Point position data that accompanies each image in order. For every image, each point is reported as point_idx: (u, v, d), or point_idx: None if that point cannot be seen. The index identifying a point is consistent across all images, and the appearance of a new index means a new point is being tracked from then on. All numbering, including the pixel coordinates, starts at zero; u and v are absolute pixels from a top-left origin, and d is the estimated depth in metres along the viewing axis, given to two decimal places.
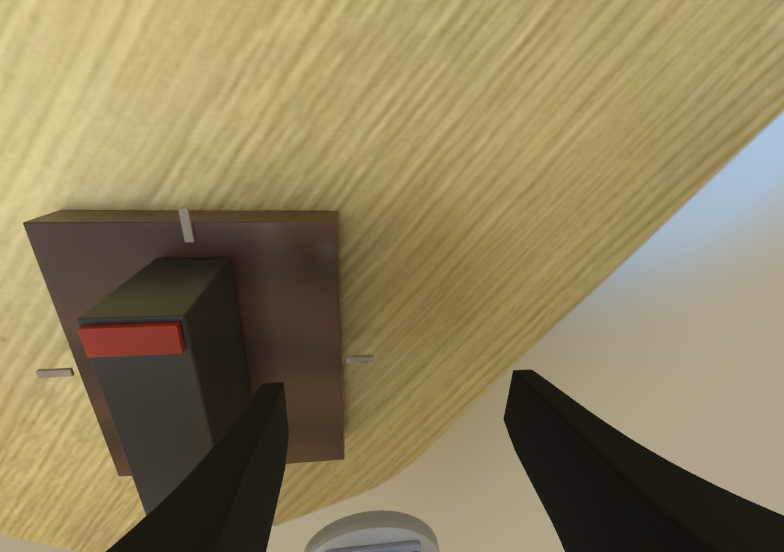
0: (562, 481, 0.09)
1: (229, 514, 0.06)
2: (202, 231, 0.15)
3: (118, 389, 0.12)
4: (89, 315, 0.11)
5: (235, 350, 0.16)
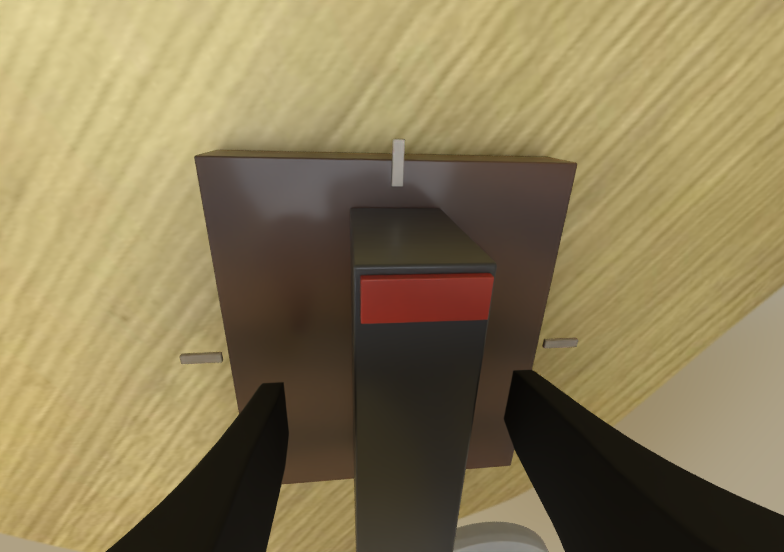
0: (562, 481, 0.09)
1: (229, 514, 0.06)
2: (413, 172, 0.12)
3: (378, 372, 0.08)
4: (367, 261, 0.07)
5: None
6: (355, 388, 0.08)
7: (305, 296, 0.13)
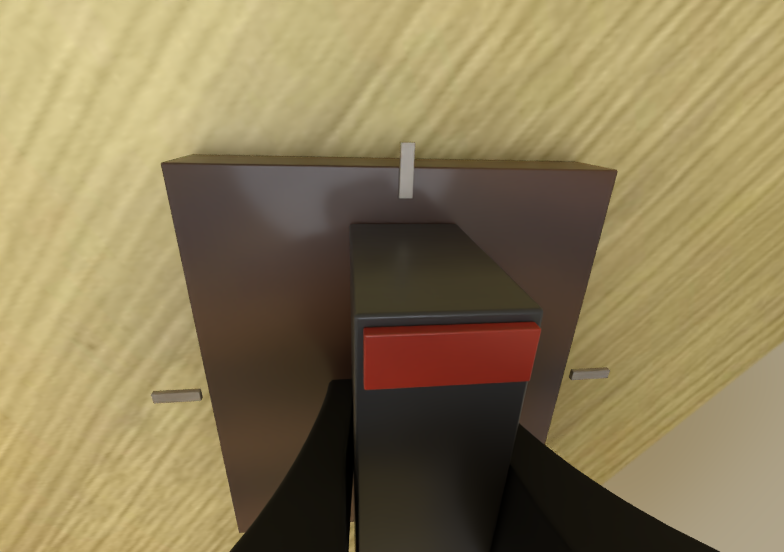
0: None
1: (345, 503, 0.07)
2: (425, 181, 0.10)
3: (386, 443, 0.06)
4: (373, 308, 0.06)
5: None
6: (356, 462, 0.07)
7: (297, 325, 0.11)
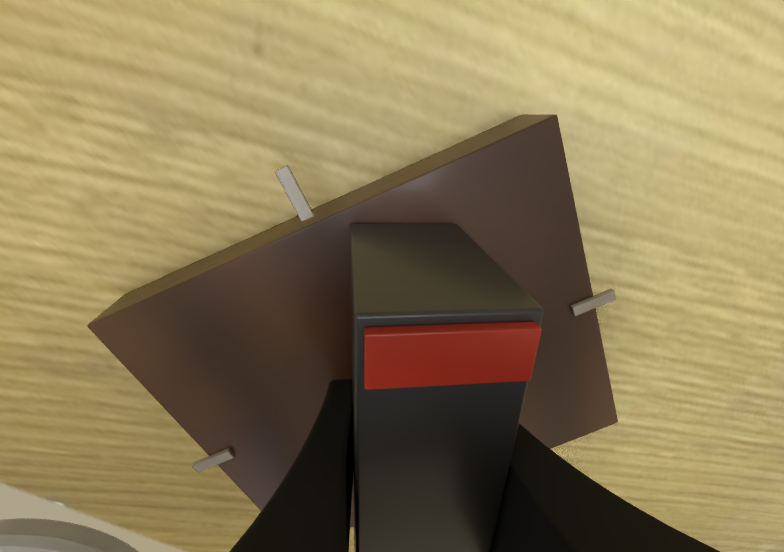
0: None
1: (345, 502, 0.07)
2: (585, 317, 0.12)
3: (386, 442, 0.06)
4: (373, 308, 0.06)
5: None
6: (356, 462, 0.07)
7: None
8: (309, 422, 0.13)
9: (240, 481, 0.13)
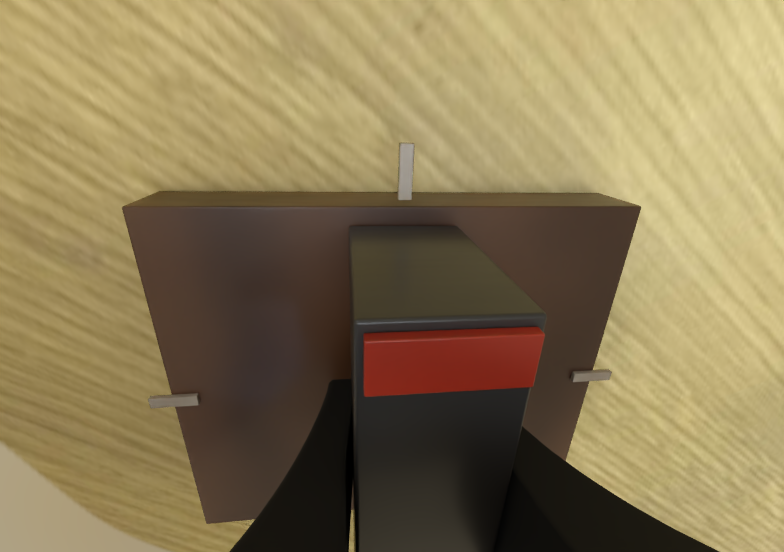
0: None
1: (346, 503, 0.07)
2: (578, 386, 0.13)
3: (386, 451, 0.06)
4: (373, 313, 0.05)
5: None
6: (356, 470, 0.07)
7: None
8: (294, 395, 0.12)
9: (189, 432, 0.12)
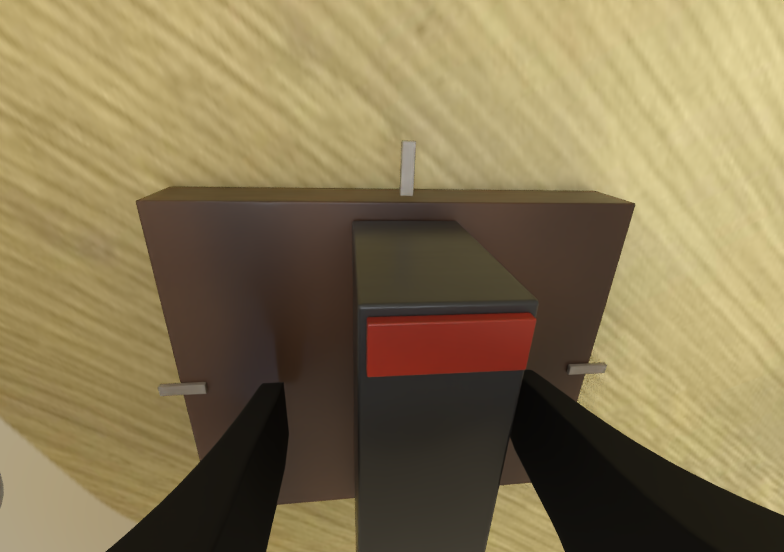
0: (562, 481, 0.09)
1: (229, 514, 0.06)
2: (574, 379, 0.14)
3: (387, 430, 0.07)
4: (375, 299, 0.06)
5: None
6: (359, 448, 0.07)
7: None
8: (298, 384, 0.12)
9: (197, 420, 0.12)
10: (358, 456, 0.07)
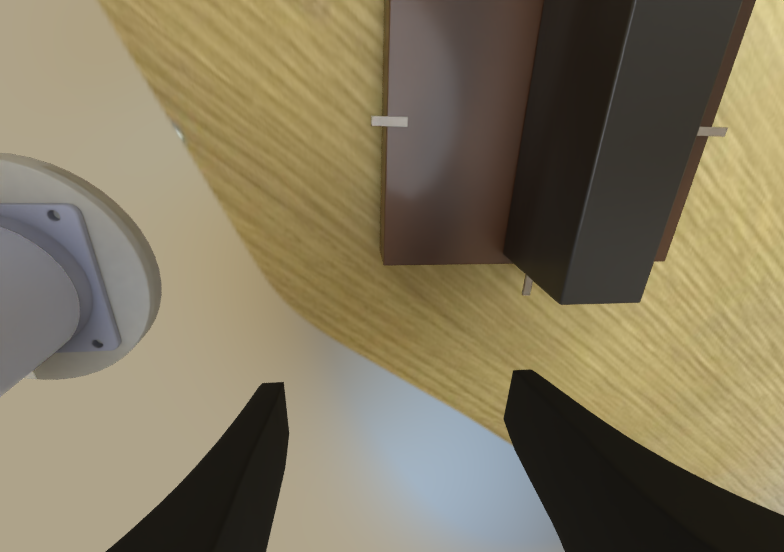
0: (562, 481, 0.09)
1: (229, 514, 0.06)
2: (698, 144, 0.16)
3: (653, 5, 0.09)
4: None
5: None
6: (628, 26, 0.09)
7: None
8: (478, 127, 0.15)
9: (391, 159, 0.15)
10: (624, 36, 0.09)
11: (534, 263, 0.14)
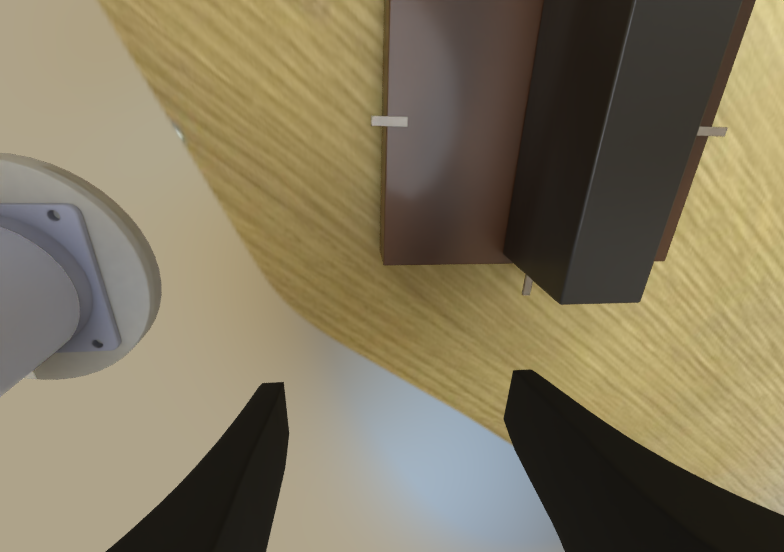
0: (562, 481, 0.09)
1: (229, 514, 0.06)
2: (698, 144, 0.16)
3: (653, 5, 0.09)
4: None
5: None
6: (627, 26, 0.09)
7: None
8: (478, 127, 0.15)
9: (391, 159, 0.15)
10: (624, 36, 0.09)
11: (534, 263, 0.14)
